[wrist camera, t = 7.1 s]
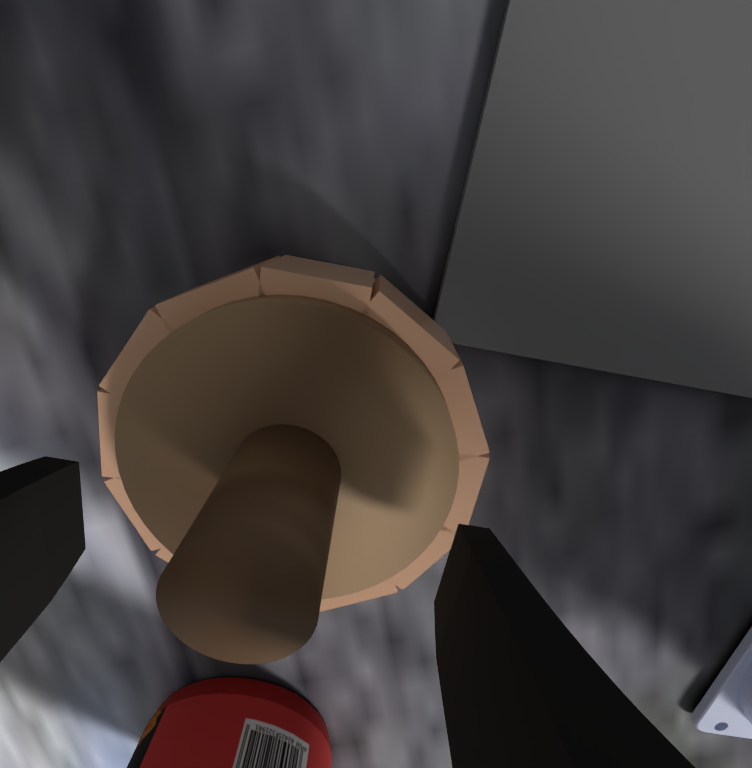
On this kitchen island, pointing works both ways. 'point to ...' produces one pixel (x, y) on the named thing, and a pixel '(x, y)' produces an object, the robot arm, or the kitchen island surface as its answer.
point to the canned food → (234, 728)
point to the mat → (612, 193)
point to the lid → (281, 467)
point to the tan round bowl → (346, 290)
